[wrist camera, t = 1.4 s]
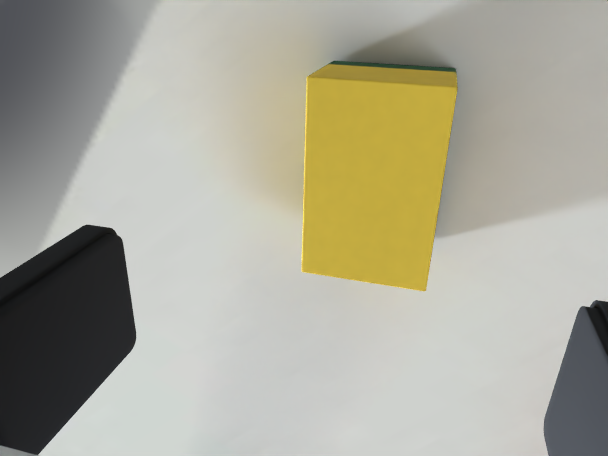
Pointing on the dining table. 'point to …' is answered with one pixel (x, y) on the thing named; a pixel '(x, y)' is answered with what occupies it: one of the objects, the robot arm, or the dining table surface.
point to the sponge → (375, 170)
